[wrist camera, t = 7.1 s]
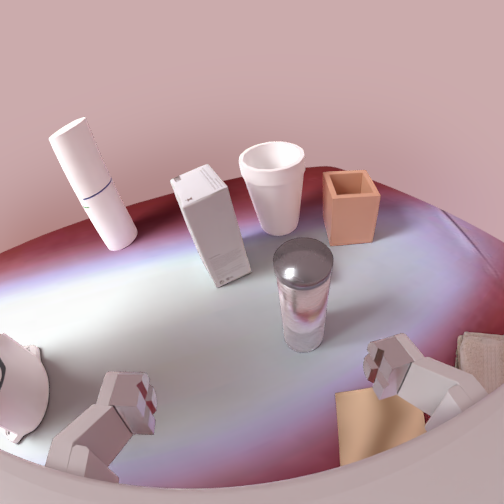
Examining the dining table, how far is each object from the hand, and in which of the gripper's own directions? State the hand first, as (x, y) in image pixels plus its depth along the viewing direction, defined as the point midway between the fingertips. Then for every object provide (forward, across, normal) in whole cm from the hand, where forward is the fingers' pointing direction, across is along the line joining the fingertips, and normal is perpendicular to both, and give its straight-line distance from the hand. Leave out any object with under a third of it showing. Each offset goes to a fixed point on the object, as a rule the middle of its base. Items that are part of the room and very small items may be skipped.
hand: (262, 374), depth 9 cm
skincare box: (+33, +1, +11) cm, 35 cm away
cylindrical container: (+46, +21, +10) cm, 51 cm away
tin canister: (+19, -8, +15) cm, 25 cm away
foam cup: (+38, -9, +7) cm, 40 cm away
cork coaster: (+5, -14, +20) cm, 24 cm away
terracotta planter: (+33, -19, +8) cm, 39 cm away
